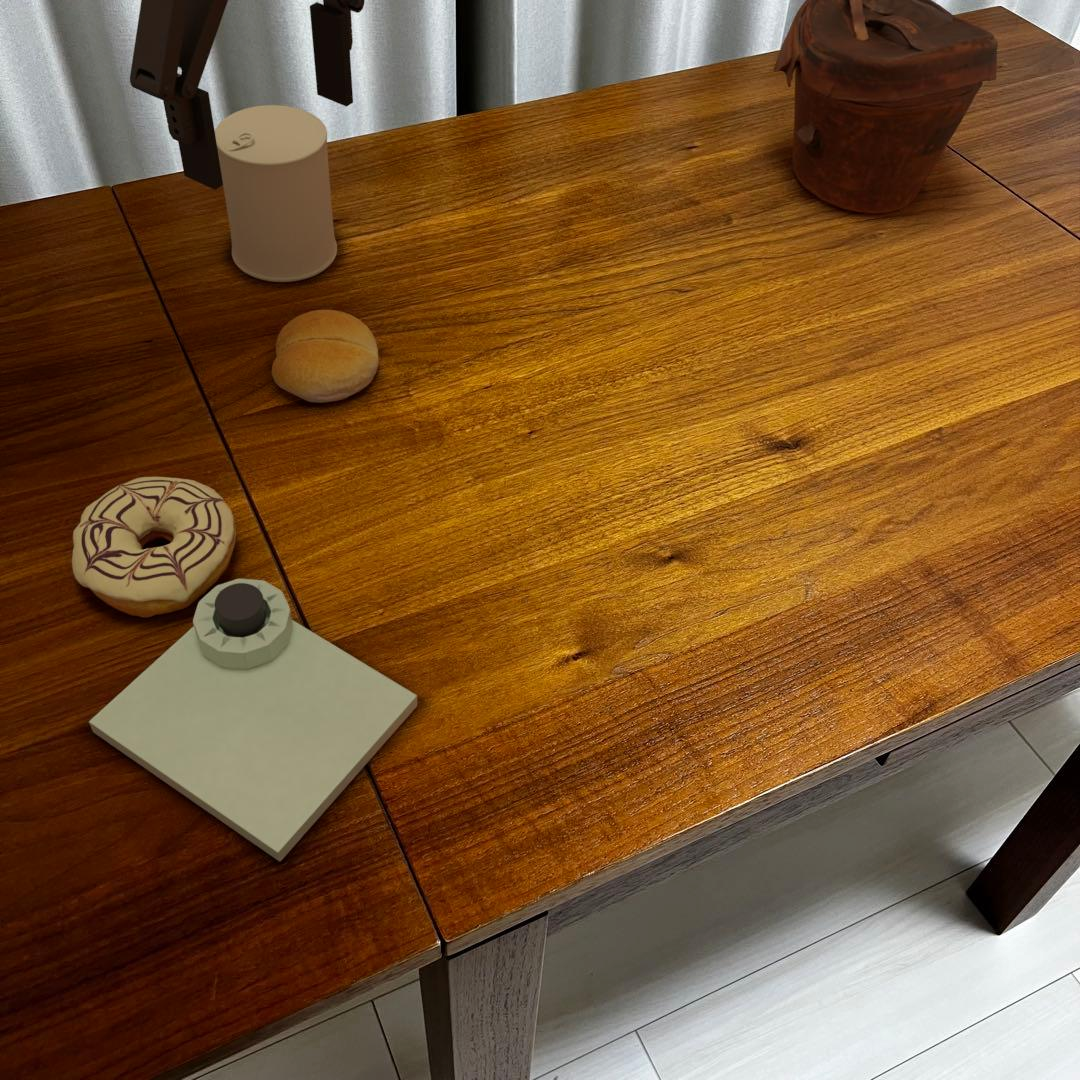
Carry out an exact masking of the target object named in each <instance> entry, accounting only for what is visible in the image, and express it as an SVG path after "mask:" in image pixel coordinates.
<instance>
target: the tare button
mask: <svg viewBox="0 0 1080 1080" xmlns="http://www.w3.org/2000/svg"><path fill="white" fill-rule="evenodd" d="M215 610H216V614H217V618H218V623H219V626H220V627H221V629H222V630H223V631H224V632H226V633H227V634H229V635H232V636H237V637H242V636H248V635H251V634H253V633H255V632H257V631H258V630H259V629H260V628H261V627H262V626H263V625H264V623H265V620H266V610H265V604H264V599H263V595H262V593H261V591H260V590H259V589H258V588H256V587H255V586H253V585H250V584H246V583H237V584H233V585H230V586H228V587H226V588H224V589H223V590H222V591H221V592H220V593H219V594H218V595H217V597H216V599H215Z"/></svg>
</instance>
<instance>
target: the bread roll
mask: <svg viewBox="0 0 1080 1080" xmlns="http://www.w3.org/2000/svg"><path fill="white" fill-rule="evenodd" d="M275 354H276V357H275V359H274V360H273V362H272V365H271V376H272V379H273V381H274V383H275V384H276V385H277V386H278V388H280V389H282V390H284V391H286V392H288V393H290V394H291V395H294V396H296V397H298V398H300V399H302V400H304V401H306V402H309V403H319V404H324V403H331V402H338V401H341V400H345V399H347V398H349V397H351V396H353V395H355V394H356V393H358V392H361V391H362V390H363V389H365V388H366V387H368V386H369V385H370V383H371V382H372V381H373V379H374V378H375V375H376V373H377V371H378V368H379V362H380V361H379V348H378V344H377V340H376V339H375V335H374V334H373V333H372V331H371V329H370V328H369V327H368V326H367V325H366V324H365V323H364V322H362V321H361V320H360V319H359V318H357V317H356V316H353V315H351V314H349V313H347V312H345V311H340V310H335V309H317V310H315V309H314V310H310V311H308V312H305V313H302V314H300V315H298V316H296V317H294V318H293V319H291V320H290V321H289V322H288V323H286V324H285V325H283V327H282V328H281V330H280V331H279V333H278V335H277V339H276V342H275Z"/></svg>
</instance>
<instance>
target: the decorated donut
mask: <svg viewBox="0 0 1080 1080" xmlns="http://www.w3.org/2000/svg"><path fill="white" fill-rule="evenodd" d="M231 509H232V508H230V507H229V506H228V504H227V503H226V501H225V499H224V498H223V497H222V496H221V495H220V494H219V493H218V492H217V491H216V490H215V489H214V488H211V487H210V486H208V485H205V484H204V483H200V482H198V481H196V480H193V479H189V478H179V477H169V476H167V477H166V476H143V477H136V478H133V479H132V480H129V481H128V482H124V483H120V484H119V485H117V486H115V487H114V488H111V489H110V490H108V491H107V492H106V493H104V494H103V495H102V496H100V497H99V498H98V499H96V500H95V501H93V502H91V503H90V504H89V505H88V506H86V507H85V509H84V510H83V512H82V514H81V515H80V523H78V525H77V526H76V527H75V529H74V530H73V533H72V542H73V549H72V558H71V567H72V573H73V576H74V579H75V580H76V581H77V583H79V584H80V585H81V586H82V587H84V588H88V589H89V590H90V591H91V592H92V593H93V594H94V596H96V597H97V598H99V599H100V600H102V601H103V602H104V603H105V604H107V605H108V606H110V607H112V608H114V609H116V610H118V611H120V612H122V613H125V614H127V615H130V616H132V617H140V618H144V619H146V618H151V617H154V616H155V615H163V614H170V613H173V612H176V611H181V610H185V608H188V607H190V606H191V605H192V604H193V603H195V602H196V601H197V600H198V599H199V598H200V597H201V596H202V595H205V594H206V592H207V591H208V590H209V589H210V588H211V587H213V585H214V584H215V583H216V582H217V581H218V580H219V579H220V577H221V576H222V575H223V573H224V572H225V571H226V570H227V568H228V567H229V565H230V561H231V558H232V557H233V552H234V548H235V544H236V537H237V527H236V522H235V519H234V514H233V512H232V510H231ZM156 539H166V540H167V541H169V542H170V543H168V544H165V545H161V546H156V547H147V548H145V549H144V546H145V545H146V544H148V543H151V542H153V541H154V540H156Z"/></svg>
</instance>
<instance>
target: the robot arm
mask: <svg viewBox="0 0 1080 1080" xmlns="http://www.w3.org/2000/svg"><path fill="white" fill-rule="evenodd" d="M228 1H229V0H140V7H139V13H138V19H137V26H136V33H135V41H134V48H133V54H132V62H131V67H130V73H129V83H130V86H131V87H132V88H134V89H136V90H138V91H140V92H142V93H144V94H147V95H149V96H151V97H154V98H156V99H159V100H161V101H162V102H163V107H164V113H165V118H166V123H167V129H168V134H169V135H170V137H171V138H172V139H173V140H174V141H177V143H178V148H179V154H180V159H181V164H182V170H183V176H184V177H186V178H189V179H190V180H193V181H195V182H196V183H198V184H201V185H203V186H205V187H208V188H209V189H212V190H214V191H216V190H218V189H219V188H221V187H223V181H222V174H221V168H220V162H219V155H218V149H217V143H216V137H215V130H216V129H215V125H214V124H215V123H214V119H213V112H212V106H211V100H210V95H209V94H210V93H209V91H207V90H204V89H202V88H200V87H199V85H200V82H201V80H202V77H203V74H204V71H205V68H206V66H207V62H208V59H209V57H210V53H211V51H212V49H213V45H214V42H215V40H216V36H217V34H218V31H219V28H220V25H221V23H222V19H223V16H224V13H225V10H226V7H227V5H228ZM364 6H365V0H322V3H320V2H318V1H316V2H314V3H312V4H310V5H309V12H310V13H309V14H310V16H309V17H310V25H311V36H312V37H311V38H312V48H313V60H314V61H313V62H314V73H315V84H316V95H317V96H320V97H322V98H323V99H327V100H330V101H332V102H334V103H337V104H340V105H342V106H343V107H348V106H350V105H352V104H353V103H354V95H353V93H354V92H353V80H352V78H353V77H352V63H351V51H352V48H353V42H354V41H353V23H352V12H354V13H356V14H358V13H360V12H362V11H363V9H364ZM179 69H180V70H181V73H178V71H179Z"/></svg>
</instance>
